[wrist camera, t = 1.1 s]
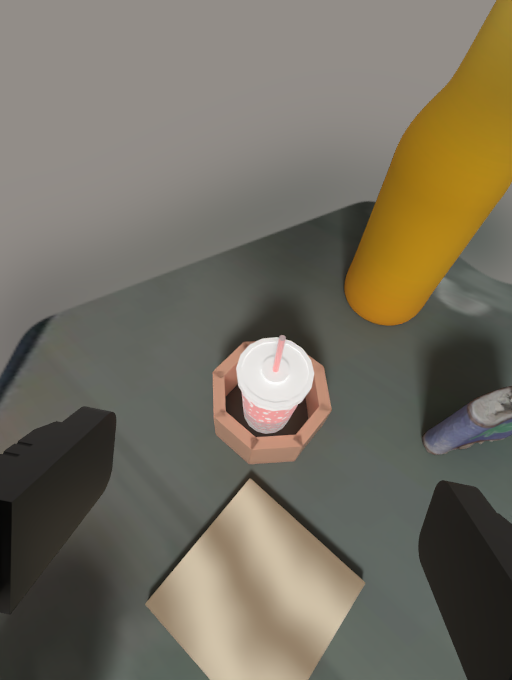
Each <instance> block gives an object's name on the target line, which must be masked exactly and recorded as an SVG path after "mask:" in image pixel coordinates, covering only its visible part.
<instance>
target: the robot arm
mask: <svg viewBox="0 0 512 680" xmlns="http://www.w3.org/2000/svg"><path fill="white" fill-rule="evenodd" d="M115 430H116V415H115V413H114V412H110V411H105V410H100V409H95V408H90V407H85V406H84V407H81V408H80V409H79V410H77V411H76V412H75V413H73V414H72V415H71V416H69V417H68V418H67V419H66V420H64V421H63V422H57V421H56V422H53V423H51V424H48V425H45V426H43V427H40V428H37V429H34V430H33V431H32V432H30V433H29V434H27V435H26V436H25V437H23V438H22V439H20V440H19V441H18V443H17V444H13V445H12V446H11V447H9V448H8V449H6V450H5V451H4V453H3V454H0V612H1V613H5V614H11V613H12V611H13V610H14V609H15V608H16V606H17V605H18V604H19V602H20V601H21V600H22V598H23V597H24V596H25V594H26V593H27V592H28V591H29V589H30V588H31V587H32V585H33V584H34V583H35V581H36V580H37V579H38V577H39V576H40V575H41V574H42V572H43V571H44V570H45V568H46V567H47V566H48V564H49V563H50V562H51V560H52V559H53V558H54V557H55V555H56V554H57V553H58V551H59V550H60V549H61V547H62V546H63V545H64V543H65V542H66V541H67V540H68V538H69V537H70V536H71V534H72V533H73V532H74V530H75V529H76V528H77V526H78V525H79V524H80V523H81V521H82V520H83V519H84V517H85V516H86V515H87V513H88V512H89V511H90V509H91V508H92V507H93V506H94V504H95V503H96V502H97V500H98V499H99V498H100V496H101V495H102V494H103V492H104V490H105V489H106V487H107V484H108V482H109V479H110V475H111V471H112V464H113V453H114V442H115ZM418 549H419V558H420V562H421V565H422V567H423V570H424V572H425V575H426V577H427V580H428V582H429V585H430V587H431V590H432V592H433V595H434V597H435V600H436V602H437V605H438V607H439V610H440V612H441V615H442V617H443V620H444V622H445V625H446V627H447V630H448V632H449V635H450V637H451V640H452V642H453V645H454V647H455V650H456V652H457V655H458V657H459V660H460V662H461V665H462V667H463V670H464V672H465V674H466V677H467V679H468V680H512V524H511V523H510V522H509V521H507V520H506V519H505V518H504V517H502V516H501V515H500V514H498V513H496V511H495V510H494V509H493V507H492V506H491V505H490V503H489V502H488V501H487V499H486V498H485V497H484V496H483V494H482V493H481V492H480V490H479V489H478V488H476V487H474V486H469V485H464V484H459V483H454V482H449V481H444V480H442V481H440V482H439V483H438V484H437V486H436V488H435V490H434V493H433V496H432V499H431V502H430V505H429V508H428V511H427V514H426V517H425V520H424V523H423V526H422V529H421V532H420V536H419V545H418Z"/></svg>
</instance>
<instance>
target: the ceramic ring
mask: <svg viewBox="0 0 512 680" xmlns="http://www.w3.org/2000/svg"><path fill="white" fill-rule="evenodd" d="M254 342H256V341H252V342H243V343H242V344H241V345H240V346H239V347H238V348H237V349H236V350H235V351H234V352H233V353H232V354H231V355H230V356H229V357H228V358H227V359H226V360H224V361H223V362H222V363H221V364H220V365H219V366H218V367H217V368H216V369H215V370H214V371H213V403H214V424H215V432H216V435H217V436H218V437H219V438H220V439H222V440H223V441H224V442H225V443H226V444H227V445H228V446H229V447H231V448H232V449H233V450H234V451H235V452H236V453H237V454H238V455H239V456H241V457H242V458H243V459H244V460H245V461H246V462H247V463H248V464H260V463H275V462H289V461H295V459H296V458H297V457H298V456H299V454H300V453H301V452H302V451H303V449H304V448H305V447H306V446H307V444H308V443H309V442H310V441H311V439H312V438H313V437H314V435H315V434H316V433H317V432H318V430H319V429H320V428H321V427H322V425H323V423H324V422H325V420H326V419H327V417H328V415H329V414H330V412H331V411H332V409H331V404H330V399H329V393H328V388H327V382H326V377H325V371H324V366H322V365H321V364H320V363H318V362H317V361H315V360H314V359H313V358H311V357H310V356H309V355H308V357H309V358H310V359H311V362H312V366H313V370H314V378H313V383H312V387H311V389H310V391H309V392H308V394H307V395H306V397H305V399H306V405H307V412H308V421H307V422H306V423H305V424H304V425H303V427H302V428H301V429H300V430H299V431H298V433H297V434H296V435H283V436H267V437H255V436H254V435H252V434H251V433H250V432H249V431H248V430H247V429H246V428H244V427H243V426H242V425H241V424H240V423H239V422H237V421H236V420H235V419H234V418H233V417H232V416H230V415H229V414H228V413H227V412H226V404H225V397H226V396H227V395H228V394H229V393H230V392H231V391H232V390H233V389H234V387H235V386H236V385H237V384H238V380H237V371H236V367H237V364H238V361H239V358H240V355H241V354H242V353H243V351H244V350H245V349H246V348H247V347H248V346H249V345H250V344H252V343H254Z"/></svg>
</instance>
